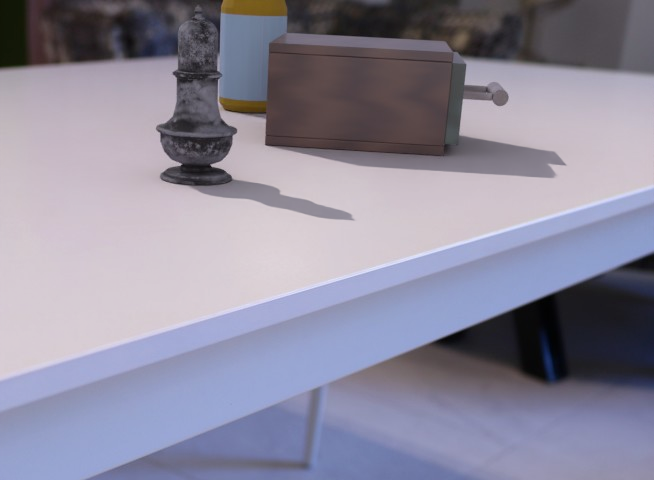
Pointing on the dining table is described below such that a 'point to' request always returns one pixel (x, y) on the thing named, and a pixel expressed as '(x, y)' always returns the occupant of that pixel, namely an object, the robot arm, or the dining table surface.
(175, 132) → the salt shaker
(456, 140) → the drawer
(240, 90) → the bottle
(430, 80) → the cabinet
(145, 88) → the dining table surface
